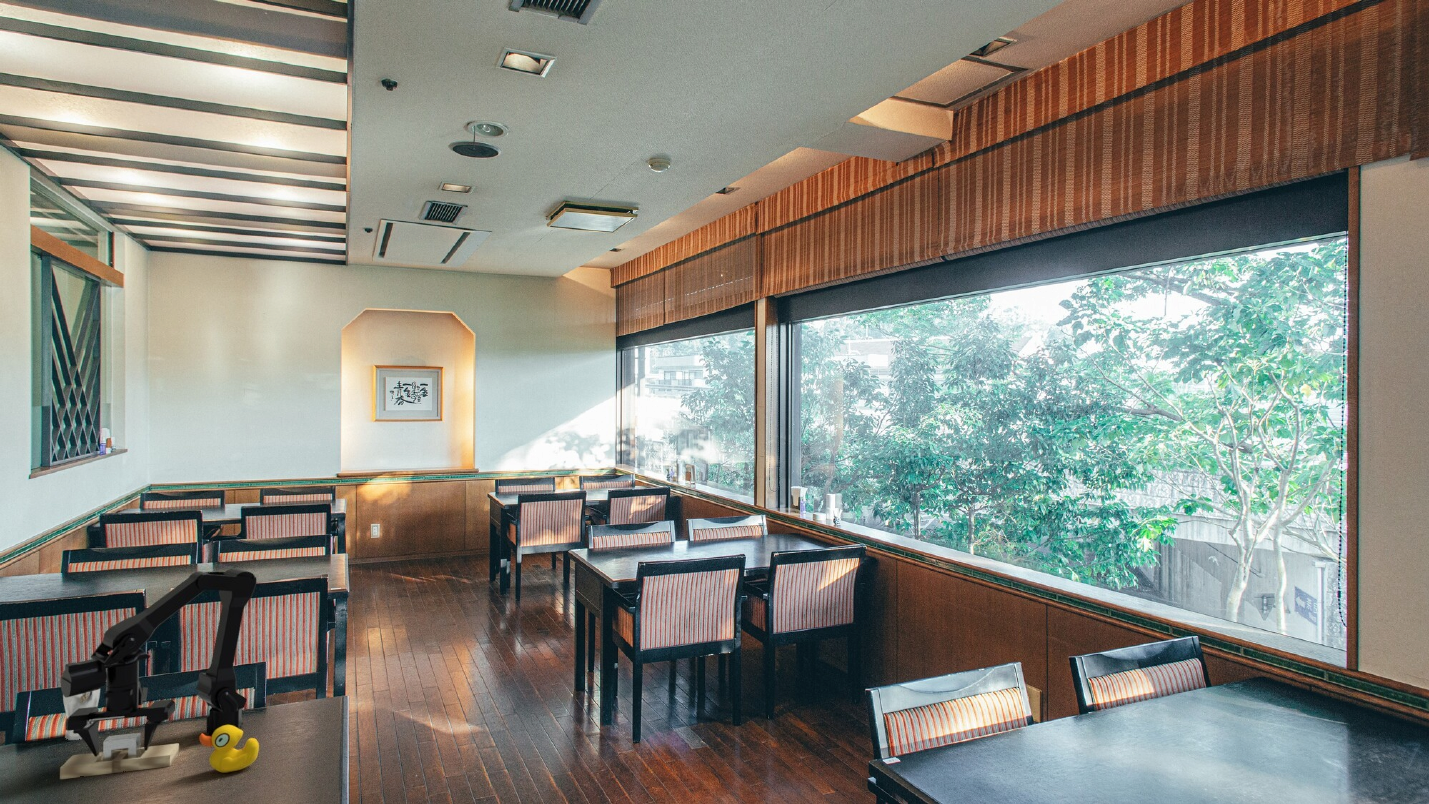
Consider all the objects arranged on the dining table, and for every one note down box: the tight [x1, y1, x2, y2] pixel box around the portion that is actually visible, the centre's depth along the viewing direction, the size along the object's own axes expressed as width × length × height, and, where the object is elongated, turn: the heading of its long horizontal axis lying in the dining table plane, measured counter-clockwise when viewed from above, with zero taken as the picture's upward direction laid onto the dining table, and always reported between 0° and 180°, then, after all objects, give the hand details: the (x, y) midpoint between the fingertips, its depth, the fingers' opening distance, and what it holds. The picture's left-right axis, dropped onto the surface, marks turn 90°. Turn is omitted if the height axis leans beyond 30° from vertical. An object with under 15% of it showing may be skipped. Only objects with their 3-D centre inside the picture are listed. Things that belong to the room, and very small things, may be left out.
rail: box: [59, 742, 180, 780], centre depth 171 cm, size 20×6×2 cm, turn 109°
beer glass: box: [62, 688, 101, 741], centre depth 186 cm, size 7×7×15 cm
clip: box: [102, 732, 142, 762], centre depth 171 cm, size 6×3×6 cm, turn 110°
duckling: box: [198, 725, 260, 774], centre depth 170 cm, size 11×5×10 cm, turn 111°
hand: (121, 752), depth 171 cm, fingers open, 9 cm apart
